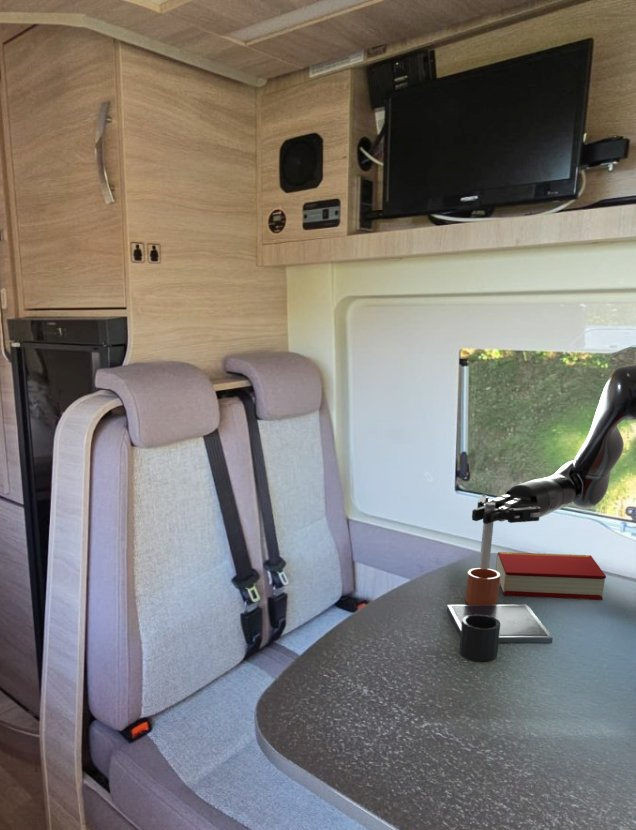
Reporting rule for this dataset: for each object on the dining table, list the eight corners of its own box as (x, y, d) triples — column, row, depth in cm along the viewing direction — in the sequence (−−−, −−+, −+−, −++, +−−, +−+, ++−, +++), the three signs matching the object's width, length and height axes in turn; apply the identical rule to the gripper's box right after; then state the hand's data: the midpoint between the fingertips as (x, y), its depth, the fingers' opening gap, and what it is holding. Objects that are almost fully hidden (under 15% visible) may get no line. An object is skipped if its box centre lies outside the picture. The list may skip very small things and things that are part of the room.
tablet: (526, 609, 138) (527, 603, 138) (552, 642, 125) (553, 636, 125) (446, 609, 140) (447, 604, 139) (463, 642, 127) (464, 636, 126)
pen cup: (492, 595, 145) (495, 567, 143) (501, 607, 140) (504, 578, 137) (462, 595, 146) (464, 567, 144) (469, 607, 140) (471, 579, 138)
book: (586, 576, 152) (589, 553, 151) (602, 599, 141) (606, 576, 139) (495, 572, 156) (497, 550, 155) (503, 595, 145) (506, 572, 143)
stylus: (487, 566, 141) (493, 502, 136) (490, 569, 139) (496, 504, 135) (478, 566, 141) (484, 502, 137) (480, 569, 140) (486, 505, 135)
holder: (491, 645, 125) (494, 614, 123) (501, 662, 120) (504, 629, 118) (456, 645, 126) (458, 614, 124) (464, 661, 120) (466, 629, 118)
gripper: (505, 475, 148) (450, 490, 139) (568, 487, 137) (514, 505, 128) (501, 510, 150) (447, 527, 141) (563, 524, 140) (510, 545, 131)
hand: (479, 517), depth 135 cm, fingers closed on stylus, 2 cm apart
